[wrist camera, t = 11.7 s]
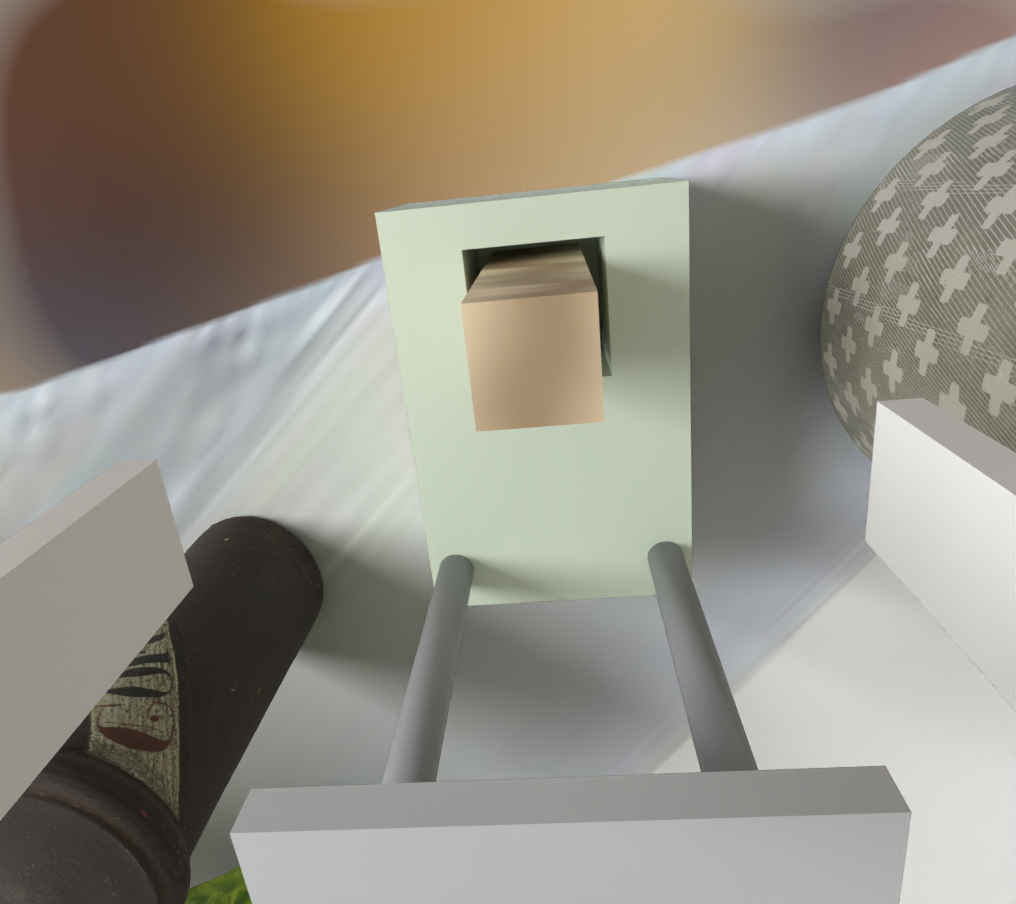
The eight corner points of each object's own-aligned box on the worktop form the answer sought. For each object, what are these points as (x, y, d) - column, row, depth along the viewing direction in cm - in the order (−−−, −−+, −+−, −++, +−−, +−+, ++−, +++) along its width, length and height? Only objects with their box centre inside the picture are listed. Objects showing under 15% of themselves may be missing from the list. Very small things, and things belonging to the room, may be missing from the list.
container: (293, 495, 41) (80, 772, 22) (354, 625, 44) (210, 964, 25) (158, 533, 42) (-149, 824, 24) (226, 657, 45) (1, 1002, 27)
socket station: (687, 546, 41) (876, 1064, 17) (440, 561, 42) (304, 1066, 18) (683, 175, 34) (994, 199, 10) (386, 206, 35) (54, 290, 11)
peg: (502, 334, 36) (476, 431, 23) (493, 251, 34) (460, 304, 21) (583, 327, 35) (604, 421, 22) (578, 243, 34) (597, 291, 21)
